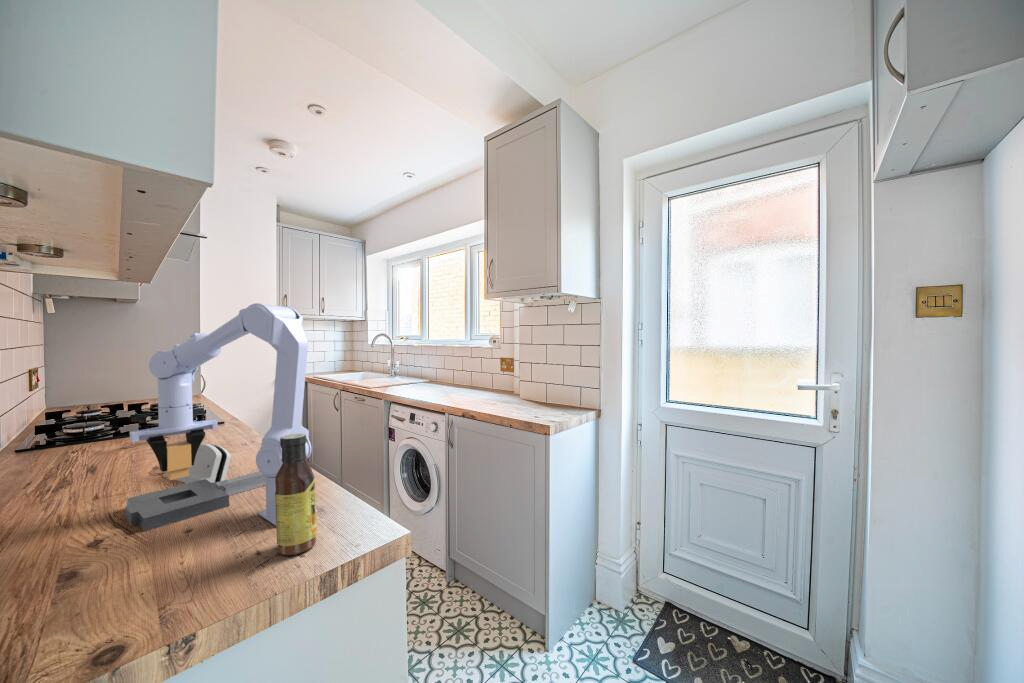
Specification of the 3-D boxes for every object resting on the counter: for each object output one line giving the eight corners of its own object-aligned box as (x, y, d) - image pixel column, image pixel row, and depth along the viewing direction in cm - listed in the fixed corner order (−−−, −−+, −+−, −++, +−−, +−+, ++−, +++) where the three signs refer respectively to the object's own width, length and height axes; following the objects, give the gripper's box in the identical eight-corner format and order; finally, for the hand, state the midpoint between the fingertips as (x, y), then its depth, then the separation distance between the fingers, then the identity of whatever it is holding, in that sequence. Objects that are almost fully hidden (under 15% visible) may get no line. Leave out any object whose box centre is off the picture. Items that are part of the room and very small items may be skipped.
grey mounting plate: (286, 488, 97) (286, 476, 97) (137, 533, 76) (136, 518, 76) (260, 474, 107) (259, 463, 107) (120, 511, 85) (120, 497, 85)
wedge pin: (191, 475, 87) (191, 444, 87) (168, 481, 84) (167, 448, 84) (186, 471, 89) (185, 441, 89) (163, 477, 86) (162, 445, 86)
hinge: (170, 477, 105) (184, 439, 108) (190, 478, 109) (203, 441, 112) (202, 489, 97) (216, 447, 100) (222, 489, 101) (236, 449, 104)
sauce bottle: (321, 547, 70) (319, 436, 69) (282, 562, 66) (279, 443, 65) (310, 534, 75) (307, 429, 74) (272, 546, 70) (269, 435, 70)
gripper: (209, 399, 94) (211, 455, 95) (126, 409, 83) (128, 473, 83) (220, 402, 90) (221, 461, 90) (133, 412, 79) (135, 480, 79)
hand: (177, 467), depth 87 cm, fingers closed on wedge pin, 4 cm apart
